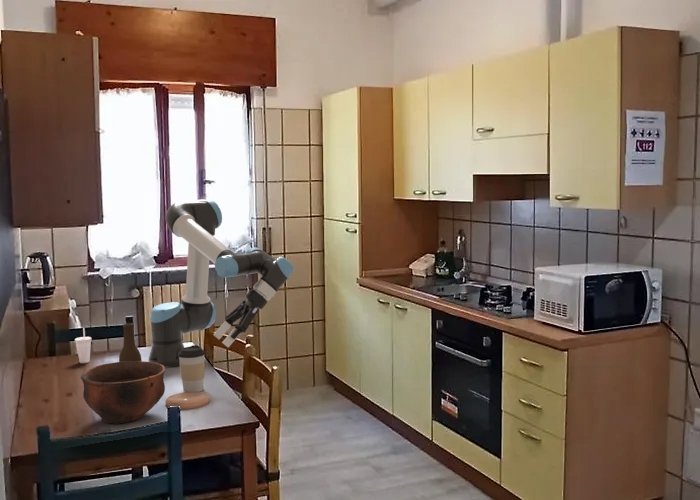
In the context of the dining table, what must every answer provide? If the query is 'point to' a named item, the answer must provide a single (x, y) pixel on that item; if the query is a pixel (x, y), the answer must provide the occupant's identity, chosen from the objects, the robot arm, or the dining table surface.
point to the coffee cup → (192, 368)
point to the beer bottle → (129, 345)
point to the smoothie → (83, 348)
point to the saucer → (188, 400)
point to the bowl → (123, 389)
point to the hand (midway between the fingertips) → (220, 341)
